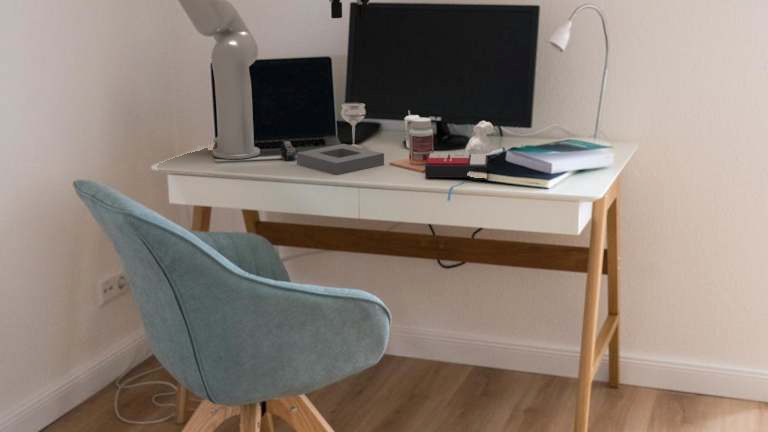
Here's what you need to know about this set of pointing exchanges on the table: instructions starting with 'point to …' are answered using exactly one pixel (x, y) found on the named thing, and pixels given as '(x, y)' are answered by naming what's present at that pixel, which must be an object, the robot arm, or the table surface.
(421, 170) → the tile
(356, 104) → the wineglass
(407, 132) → the milkshake
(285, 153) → the wristwatch
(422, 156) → the pill bottle
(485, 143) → the bust
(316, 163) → the block
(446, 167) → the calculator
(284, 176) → the table surface
